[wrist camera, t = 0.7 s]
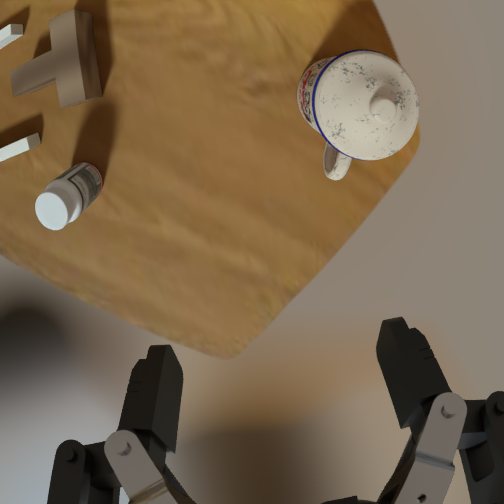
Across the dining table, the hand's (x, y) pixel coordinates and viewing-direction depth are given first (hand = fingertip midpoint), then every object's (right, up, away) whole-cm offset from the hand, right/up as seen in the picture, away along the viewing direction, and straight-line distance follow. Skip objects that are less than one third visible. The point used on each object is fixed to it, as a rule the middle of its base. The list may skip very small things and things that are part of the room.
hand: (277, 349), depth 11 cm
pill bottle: (-20, +12, +21) cm, 31 cm away
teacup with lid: (+7, +18, +18) cm, 26 cm away
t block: (-22, +24, +13) cm, 34 cm away
